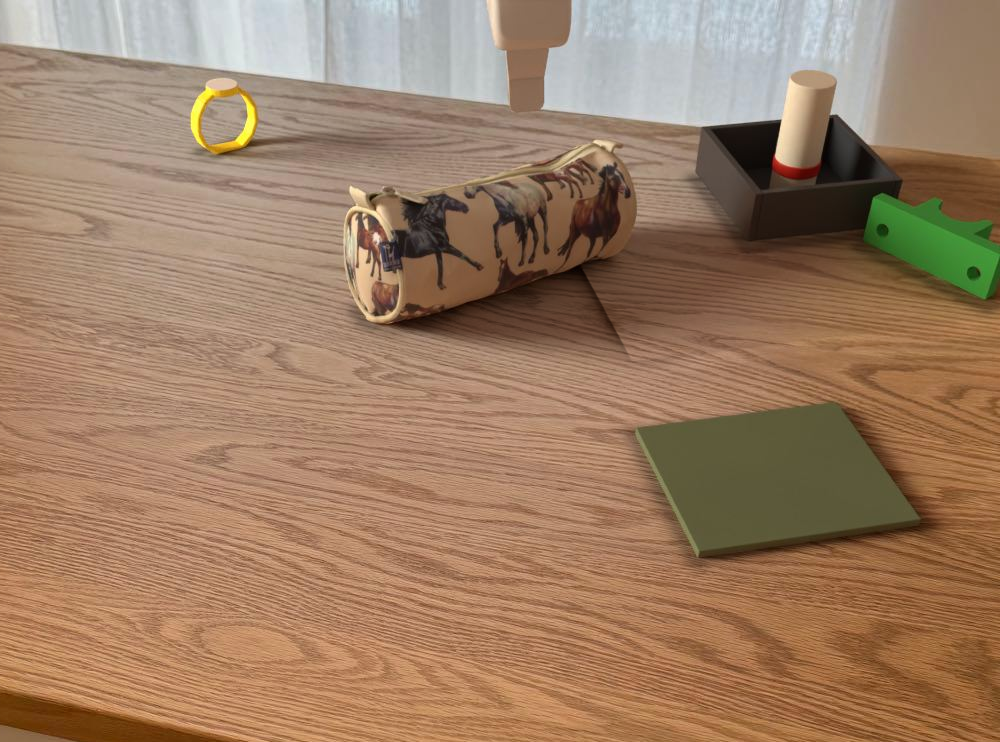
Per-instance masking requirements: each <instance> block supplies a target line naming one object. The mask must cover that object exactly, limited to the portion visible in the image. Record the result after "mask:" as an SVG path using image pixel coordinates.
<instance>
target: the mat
mask: <svg viewBox="0 0 1000 742" xmlns="http://www.w3.org/2000/svg"><path fill="white" fill-rule="evenodd" d="M634 435H635V437H636V439H637V441H638V443H639V445H640V447H641V449H642V451H643V453H644V455H645V457H646V459H647V461H648V462H649V465H650V467H651V469H652V471H653V473H654V475H655V477H656V479H657V480H658V482H659V484H660V486H661V488H662V491H663V492H664V494H665V496H666V498H667V500H668V502H669V504H670V507H671V508H672V510H673V512H674V514H675V516H676V518H677V520H678V522H679V525H680V526H681V528H682V530H683V532H684V534H685V536H686V538H687V540H688V542H689V544H690V545H691V548H692V550H693V552H694V553H695V556H696V557H697V559H700V558H706V557H714V556H721V555H729V554H736V553H742V552H748V551H755V550H762V549H770V548H776V547H782V546H789V545H797V544H803V543H810V542H816V541H823V540H830V539H837V538H844V537H851V536H857V535H863V534H864V535H865V534H871V533H872V534H873V533H878V532H885V531H891V530H899V529H905V528H911V527H912V528H913V527H917V526H918V527H919V526H920V524H921V521H922V518H921V517H920V515H919V514H918V512H916V510H915V508H914V507H913V506H912V504H911V503H910V502H909V501H908V499H907V498H906V496H905V494H904V493H903V492H902V490H901V489H900V488H899V486H898V484H896V482H895V480H893V478H892V477H891V475H890V474H889V472H888V471H887V470H886V468H885V467H884V465H883V464H882V463H881V461H880V460H879V459H878V457H877V456H876V454H875V453H874V452H873V450H872V449H871V448H870V447H869V445H868V443H867V442H866V441H865V439H864V438H863V436H862V435H861V433H859V431H858V430H857V428H856V427H855V425H854V424H853V423H852V421H851V420H850V418H849V417H848V416H847V414H846V413H845V412H844V410H843V409H842V407H841V406H840V405H839V403H838V402H837V401H833V402H826V403H818V404H817V403H816V404H810V405H801V406H794V407H786V408H778V409H770V410H763V411H755V412H748V413H739V414H733V415H724V416H717V417H708V418H701V419H693V420H685V421H678V422H671V423H670V422H669V423H661V424H653V425H647V426H646V425H645V426H637V427H635V432H634Z"/></svg>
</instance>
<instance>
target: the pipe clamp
mask: <svg viewBox="0 0 1000 742" xmlns="http://www.w3.org/2000/svg"><path fill="white" fill-rule="evenodd" d="M943 204H944V200H943V199H940V198H938V197H933V198H931V199H928V200H927V201H925V202H923V203H920V204H918V205H916V206H912V205H910V204H908V203H906V202H904V201H902V200H900V199H898V200H897V199H895V198H893V197H890V196H888V195H886V194H884V193H881V194H879V195H877V196H875V197H873V201H872V205H871V209H870V213H869V217H868V221H867V225H866V229H864V233H863V237H862V241H863V242H865V243H866V244H869V245H870V246H873V247H874V248H875V247H876V248H877V249H879V250H881V251H883V252H885V253H887V254H890V255H891V256H894V257H895V258H897V259H900V260H901V261H903V262H906V263H908V264H910V265H912V266H914V267H917V268H919V269H921V270H923V271H925V272H927V273H928V274H931V275H933V276H935V277H937V278H940V279H941V280H943V281H945V282H947V283H949V284H952V285H954V286H956V287H958V288H960V289H962V290H963V291H966V292H969V293H970V294H972V295H975V296H976V297H978V298H980V299H983V300H985V301H986V300H988V299H989V298H991V297H993V296H995V293H996V290H997V288H998V284H999V281H1000V245H999V244H997V243H995V242H993V241H991V240H990V237H991V235H992V231H993V228H994V225H995V222H992V221H990V220H989V219H983V220H979V221H964V220H958V219H955V218H952V217H950V216H948V215H946V214H945V213H943V212H942V211H941V210H942V207H943ZM885 225H886V226H887V227H885ZM977 270H979V273H980V274H979V273H978V272H977Z"/></svg>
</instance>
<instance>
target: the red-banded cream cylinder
mask: <svg viewBox="0 0 1000 742" xmlns="http://www.w3.org/2000/svg"><path fill="white" fill-rule="evenodd" d="M837 84H838V81H837V79H836V77H835V76H834V75H832V74H830V73H828V72H825V71H821V70H815V69H802V70H798V71H794V72H792V73H791V74H790V75H789V78H788V84H787V90H786V95H785V101H784V106H783V111H782V116H781V119H782V121H781V127H780V132H779V138H778V143H777V148H776V153H775V154H774V158H773V163H772V169H773V170H772V175H771V181H770V186H769V189H779V188H789V187H799V186H809V185H815V183H816V178H817V175H818V173H819V170H820V166H821V155H822V150H823V146H824V141H825V136H826V131H827V127H828V122H829V117H830V115H831V113H832V108H833V102H834V99H835V94H836V89H837Z"/></svg>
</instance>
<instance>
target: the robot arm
mask: <svg viewBox="0 0 1000 742" xmlns="http://www.w3.org/2000/svg"><path fill="white" fill-rule="evenodd" d="M485 2H486V8H487V13H488V18H489V25H490V30H491V35H492V39H493V43H494V45H495V47H496V48H497V49H498V50H500V51H504V52H505V53H504V54H505V63H506V83H507V85H506V87H507V88H506V89H507V99H508V106H509V107H510V109H511V111H512V112H515V113H528V112H531V113H532V112H537V111H540V110H541V109H542V108H543V107H544V105H545V75H546V70H547V63H548V57H549V51H550V49H553V48H554V49H555V48H561V47H563V46H564V45H566V44H567V43H568V41H569V38H570V34H571V29H572V17H573V16H572V14H573V13H572V12H573V8H572V7H573V5H572V3H573V2H572V0H485Z"/></svg>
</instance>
